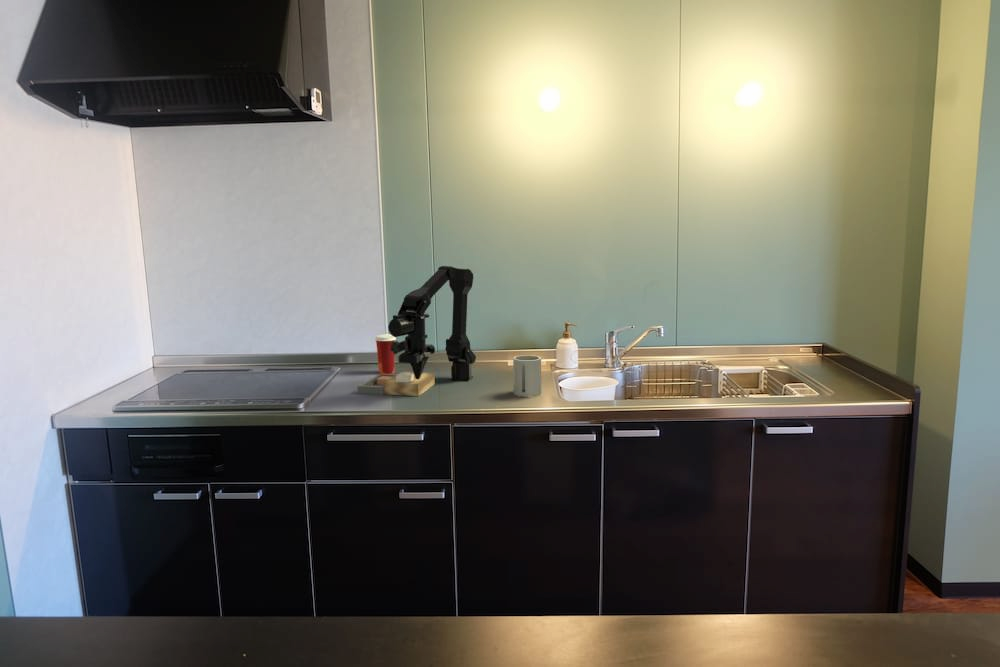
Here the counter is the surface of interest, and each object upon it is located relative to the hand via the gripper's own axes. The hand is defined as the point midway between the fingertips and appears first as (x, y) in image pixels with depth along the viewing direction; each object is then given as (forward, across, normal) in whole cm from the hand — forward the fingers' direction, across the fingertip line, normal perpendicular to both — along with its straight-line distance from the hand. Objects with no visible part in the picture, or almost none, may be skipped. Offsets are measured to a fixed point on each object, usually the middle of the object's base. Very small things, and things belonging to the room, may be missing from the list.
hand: (417, 378), depth 227 cm
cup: (+5, -7, +36) cm, 37 cm away
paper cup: (+5, -27, -22) cm, 35 cm away
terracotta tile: (+2, -9, -15) cm, 18 cm away
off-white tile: (+1, 0, -5) cm, 5 cm away
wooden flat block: (+5, -5, -5) cm, 8 cm away
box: (+5, -5, -15) cm, 16 cm away
